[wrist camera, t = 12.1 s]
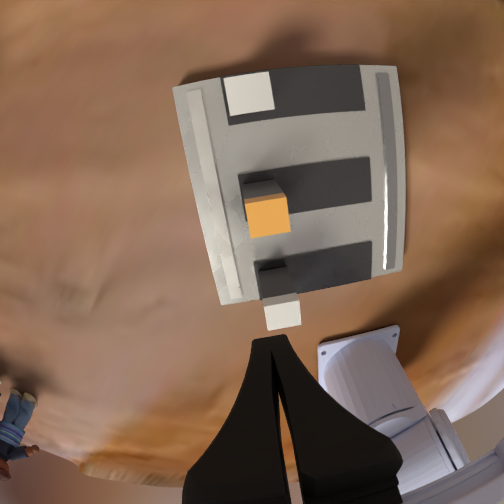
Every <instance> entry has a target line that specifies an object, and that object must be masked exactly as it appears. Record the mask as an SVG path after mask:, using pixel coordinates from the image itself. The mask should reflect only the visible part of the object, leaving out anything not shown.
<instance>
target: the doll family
mask: <svg viewBox="0 0 504 504" xmlns="http://www.w3.org/2000/svg"><path fill="white" fill-rule="evenodd" d="M1 383H2V381H1V378H0V384H1ZM10 393H11V394H10V397H9V400H8V402H7V405H6V409H5V412H4V416H3V419H2V421H0V480H8V479H10V478H11V476H10V474H9V466H8V464H7V463H6V461H8V460H9V459H10V460H12V461H13V460H16V459H22V458H26V457H29V456H30V455H32V454H34V453H35V452H36V453H37V452H39V447H38V446H37V445H32V447H26V446H20V447H19V445H20V442H21V440H22V438H23V435H24V434H25V431H23V430H24V428H25V426H26V425H27V423H28V421H29V420H30V418H31V415H32V412H33V409H34V408H35V406H37V402H36V399H35V398H34V397H33V396H32V395H31V394H29V393H26V392H25V393H24V399H23V397H22V395H21V394H20V393H19V392H18V391H17V390H16V389H13V388H11V389H10ZM0 396H1V393H0Z"/></svg>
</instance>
